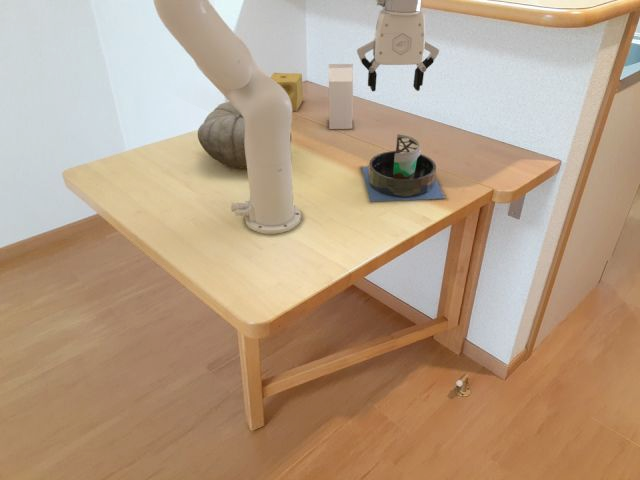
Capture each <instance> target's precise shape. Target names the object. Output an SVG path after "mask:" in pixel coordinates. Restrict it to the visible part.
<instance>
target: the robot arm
mask: <svg viewBox="0 0 640 480" xmlns="http://www.w3.org/2000/svg"><path fill="white" fill-rule="evenodd" d="M422 1H423V0H376V1H375V4H376V6H380V7H382V9H381V10H379V13H378V17H377V20H376V26H375V32H374V39H373V40H371V41H369V42H368V43H366V44H364V45H362V46H360V47H359V48H357V49H356V53H357V55H358V58H359V61H360V62H361V64H362V65H363V66H364V68H365V69H366V70H367V73H368V74H367V87H370V91H371V92H376V90H377V76H378V75H377V71H376V70H377V69H378V68H379V66H381V65H383V66H403V65H404V66H409V65H410V66H412V65H416V68H415V69H414V74H413V75H414V77H413V85H412V86H413V88H414V90H415V91H416V92H419V91H420V89H421V88H420V87H421V86H423V83H424V76H425V72H427V69H428V68H429V67H430V66H432V65H433V63H434V62H435V60H436V58H437V57H438V55H439V53H440V49H438V47H436V46H434V45H433V44H431V43H429V42H427V41H426V16H425V15H426V14H425V11H423V10H422ZM153 4H154V5H153V6H154V8H155V11H156V14H157V15H158V17H159V19H160V21H161V22H162V24H163V26H164V27H165V28H166V30H167V31H168V32H169V33H170V35H172V37H173V38H174V39H175V41H177V43H178V44H179V45H180V46H181V47H182V48H183V50H184V51H185V52H186V53H187V54H188V55H189V57H191V59H192V60H193V61H194V63H195V65H196V67H197V68H198V69H199V70H200V72H201V73H202V74H203V75H204V76H205V77H206V78H207V79H208V80H209V81H210V82H211V84H212V85H213V86H214V87H215V88H216V89H217V90H218V91H219V92H220V94H222V95H223V96H224V97H225V98H226V100H227V101H228V102H231V104H232V105H233V106H234V107H235V108H236V109H237V110H238V111H239V112H240V114H241V115H242V116H243V118H244V122H245V138H244V144H245V156H246V163H247V168H246V169H247V171H246V172H247V180H248V181H247V182H248V189H249V200H245V202H231V203H230V208H231V212H235V216H236V217H242V216H244V218H245V219H244V221H245V225H246V226H247V227H248V228H249V229H250V230H253V231H254V232H257V233H260V234H266V235H272V234H273V235H276V234H282V233H286V232H288V231H290V230H293V229H295V228H296V227H297V226H298V225H299V224H300V222H301V221H302V212H301V210H300V209H299V208H298V206H296V205H295V204H294V184H293V182H294V181H293V164H292V146H291V143H292V142H291V143H290V135H291V136H292V131H291V130H292V123H293V111H292V104H291V101H290V98H289V96H288V94H287V93H286V91H285V90H284V89H283V88H282V87H281V86H280V85H279V84H278V83H277V82H275V81H274V80H273V79H272V78H270V77H271V76H269V75H268V74H267V73H266V72H265V71H264V70H263V69H262V68H261V67H260V66H259V65H258V64H257V62H256V61H255V59H253V58H254V57H253V55H252V52H251V51H250V49H249V48H248V46H247V45H246V43H244V41H243V40H242V39H241V38H240V37H238V36H237V34H235V33H234V31H233V30H232V29H231V28H230V26H229V25H228V24H227V23H226V22H225V20H224V19H223V18H222V17H221V16H220V14H219V13H218V11H217V9H215V8H214V6H213V5H212V4H211V2H210V1H209V0H153ZM425 50H426V51H428V52H429V54H428V56H427V57H426V58H424V57H425V56H424V55H425ZM371 51H372V55H373V56H372V57H373V58H371V60H370V61H369V59H368V58H367V57H366V54H367V53H368V52H371Z"/></svg>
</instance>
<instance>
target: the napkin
mask: <svg viewBox="0 0 640 480" xmlns="http://www.w3.org/2000/svg"><path fill="white" fill-rule="evenodd" d="M360 169H361V172H362V176H363V180H364V184H365V186H366V187H365V188H366V190H367V195H368V199H369V202H370V203H378V202H380V203H381V202H403V201H425V200H426V201H428V200H431V201H432V200H445V199H446V197H445V195H444V193H443V191H442V189H441V187H440V185H439V183H438V181H437V179H436V178H435V181H434V186H433V188H432V190H431V191H429V192H428V193H426V194H424V195H421V196H417V197H410V198H398V197H392V196H387V195H384V194H381V193H379V192H377V191H375V190H374V189H373V188H372V187H371V186H370V184H369V181H368V176H369V166H361V168H360Z"/></svg>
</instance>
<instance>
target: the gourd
mask: <svg viewBox="0 0 640 480" xmlns="http://www.w3.org/2000/svg"><path fill="white" fill-rule="evenodd" d="M244 138H245V122H244V118H243V116H242V115H241V114H240V112H239V111H238V110H237V109H236V108H235V107H234V106H233V105H232V104H231V102H230V101H227V102H222V103H220V104H218V105H217V107H215V108H214V109H213V110H212V111H210V113H209V114H208V115H207V116H206V118H205V119H204V121H203V123H201V125H200V126H199V128H198V130H197V139H198V141H199V144H200V145H201V147H202V149H203V150H204V151H205V152H206V153H207V154H208V155H209V157H211V158H212V159H213V160H215V161H217V162H218V163H220V164H222V165H223V166H226V167H228V168H230V169H238V170H239V169H242V168H244V169H247V163H246V156H245V144H244ZM290 143H292V134H291V135H290Z"/></svg>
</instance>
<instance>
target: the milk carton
mask: <svg viewBox="0 0 640 480" xmlns="http://www.w3.org/2000/svg"><path fill="white" fill-rule="evenodd" d="M353 107H354V64H353V63H328V125H329V126H328V129H329V130H352V129H353V114H354V113H353V111H354V110H353Z"/></svg>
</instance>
